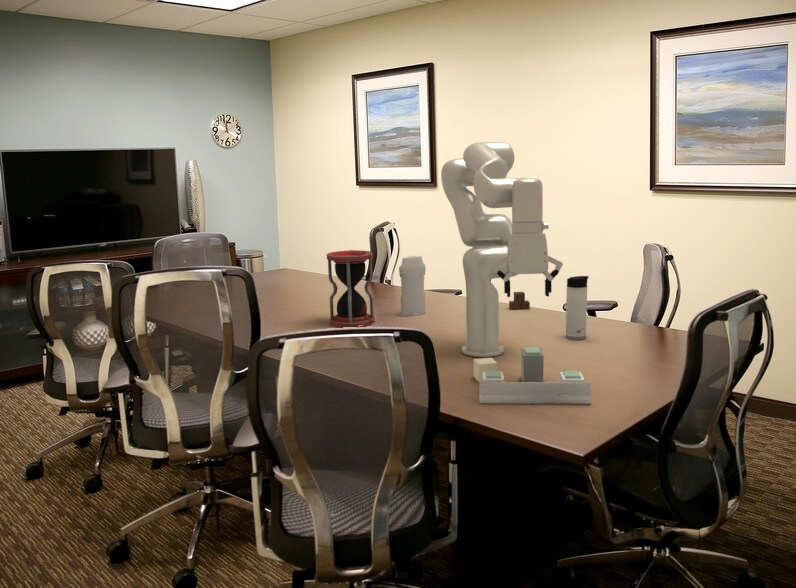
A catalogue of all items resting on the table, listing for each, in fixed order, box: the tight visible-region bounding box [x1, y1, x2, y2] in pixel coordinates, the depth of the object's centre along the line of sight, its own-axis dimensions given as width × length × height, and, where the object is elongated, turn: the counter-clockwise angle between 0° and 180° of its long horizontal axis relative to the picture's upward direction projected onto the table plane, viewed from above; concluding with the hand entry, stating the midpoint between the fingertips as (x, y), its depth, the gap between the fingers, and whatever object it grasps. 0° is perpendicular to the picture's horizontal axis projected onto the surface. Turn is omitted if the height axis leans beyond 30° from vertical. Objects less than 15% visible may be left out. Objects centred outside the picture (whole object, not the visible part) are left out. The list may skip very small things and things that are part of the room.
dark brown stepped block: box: [508, 291, 531, 311], centre depth 275 cm, size 15×15×7 cm
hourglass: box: [326, 249, 376, 328], centre depth 257 cm, size 16×16×25 cm
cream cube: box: [473, 357, 498, 383], centre depth 192 cm, size 5×5×5 cm
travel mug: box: [565, 275, 589, 341], centre depth 229 cm, size 6×7×20 cm
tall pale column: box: [398, 255, 426, 318], centre depth 267 cm, size 11×4×22 cm, turn 114°
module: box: [520, 346, 545, 382], centre depth 189 cm, size 7×5×8 cm
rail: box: [478, 381, 591, 405], centre depth 174 cm, size 2×26×5 cm, turn 85°
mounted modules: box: [483, 370, 585, 382], centre depth 179 cm, size 6×24×6 cm, turn 85°
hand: (527, 295), depth 185 cm, fingers open, 9 cm apart
